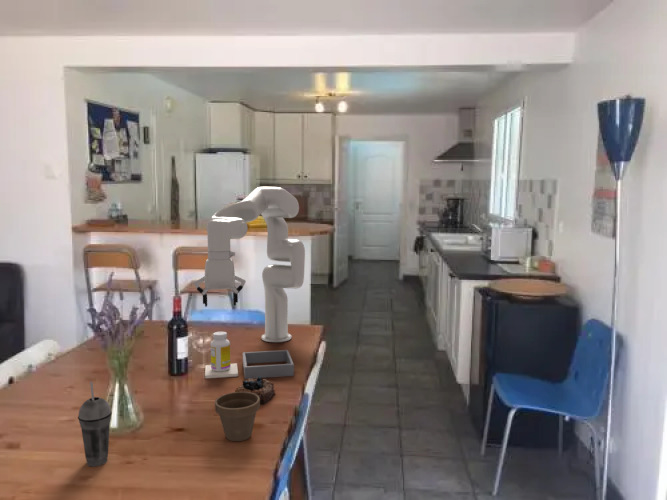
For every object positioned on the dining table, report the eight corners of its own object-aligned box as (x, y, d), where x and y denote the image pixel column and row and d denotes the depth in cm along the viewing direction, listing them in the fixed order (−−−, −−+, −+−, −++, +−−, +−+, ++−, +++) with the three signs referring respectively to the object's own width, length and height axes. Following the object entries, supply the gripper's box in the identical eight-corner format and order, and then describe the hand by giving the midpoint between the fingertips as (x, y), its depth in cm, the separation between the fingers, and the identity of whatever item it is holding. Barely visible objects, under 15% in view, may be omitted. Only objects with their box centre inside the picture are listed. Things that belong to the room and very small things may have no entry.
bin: (242, 363, 202) (242, 352, 202) (288, 360, 206) (287, 350, 205) (244, 378, 186) (244, 367, 186) (293, 375, 190) (293, 364, 189)
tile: (205, 367, 197) (205, 365, 197) (237, 365, 199) (236, 363, 199) (204, 378, 186) (204, 375, 186) (238, 376, 189) (237, 373, 188)
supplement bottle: (232, 366, 196) (232, 331, 194) (227, 372, 189) (226, 336, 188) (214, 365, 196) (213, 330, 195) (208, 371, 190) (207, 335, 188)
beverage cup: (118, 454, 134) (114, 374, 132) (107, 469, 127) (103, 385, 125) (87, 454, 134) (83, 374, 132) (74, 469, 127) (70, 385, 125)
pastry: (278, 392, 175) (278, 374, 174) (264, 407, 163) (264, 388, 163) (246, 389, 178) (245, 371, 177) (230, 403, 166) (229, 384, 165)
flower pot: (217, 449, 137) (216, 410, 136) (213, 429, 148) (213, 393, 147) (263, 443, 140) (263, 405, 139) (256, 424, 151) (256, 389, 150)
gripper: (244, 253, 193) (245, 301, 196) (193, 255, 190) (195, 303, 192) (245, 256, 186) (246, 306, 188) (192, 258, 183) (194, 308, 185)
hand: (220, 305), depth 190 cm, fingers open, 9 cm apart
